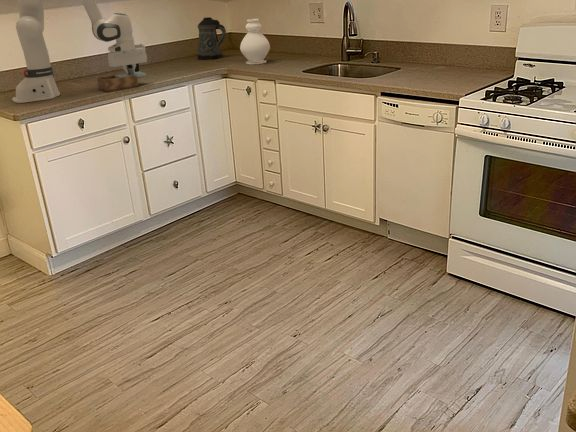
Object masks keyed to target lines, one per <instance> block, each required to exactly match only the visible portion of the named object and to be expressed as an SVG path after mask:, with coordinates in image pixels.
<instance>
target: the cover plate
mask: <svg viewBox="0 0 576 432" xmlns="http://www.w3.org/2000/svg"><path fill="white" fill-rule="evenodd" d="M126 69H127V70H129V74H124V73H121V74H122V75H117V74H115V75H116V76H115V78H121V77H127V76H133V75H137V78H141V77H142V78H143V77H146V76H147V73H146V72H142V71H139V72H135V73H134V72H133V69H131V68H127V67H126Z"/></svg>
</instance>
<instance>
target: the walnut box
mask: <svg viewBox="0 0 576 432" xmlns="http://www.w3.org/2000/svg"><path fill="white" fill-rule="evenodd" d="M122 74H126V73H125V72H124V73H119V74H114V75H107V76H106V75H105V76H100V77H97V78H96V81H97V85H98V90H99V91H102V92H104V93H105V92H106V93H112V92H116V91H123V90H129V89H133V88H135V89H136V88H139V81H138V77H137V75H133V76H127V77H121V78H115V76H116V75H122Z"/></svg>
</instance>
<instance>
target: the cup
mask: <svg viewBox="0 0 576 432" xmlns="http://www.w3.org/2000/svg"><path fill="white" fill-rule="evenodd" d="M132 67H133V66H132V64H131V65H126V68H131V69H132ZM135 72H140V63H137V64H136V67H135Z"/></svg>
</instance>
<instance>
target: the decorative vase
mask: <svg viewBox="0 0 576 432" xmlns="http://www.w3.org/2000/svg"><path fill="white" fill-rule="evenodd" d="M259 21H260V19H259V18H250V19H249V18H248V19H246V22H247V23H246V25H245V29H246V30H247V31H248V32H247V33H246V34H245V36H244V37H243V39H242V40H241V42H240V45H239V50H240V52H241V54H242V55H243V56H244V57H245V58H246V59H247V61H246V62H245V64H246V65H260V64H262V65H263V64H266V63H267V60H265V58H266V56H267V55H268V54H269V52H270V49H271V45H270V42H269V40H268V38H267V37H266V36H265V35H264V34H263V33H262V32H261V31H260V30H261V29H262V27H263V26H262V24H261V23H260V22H259Z"/></svg>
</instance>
